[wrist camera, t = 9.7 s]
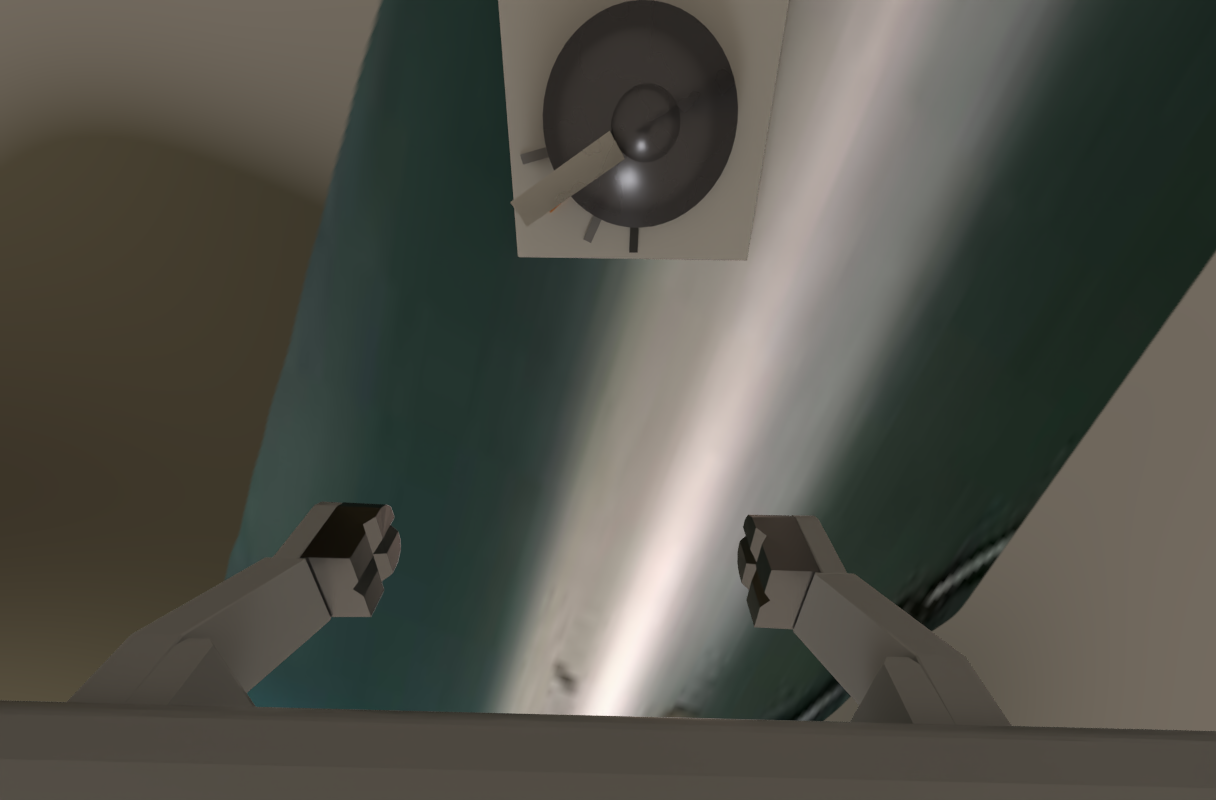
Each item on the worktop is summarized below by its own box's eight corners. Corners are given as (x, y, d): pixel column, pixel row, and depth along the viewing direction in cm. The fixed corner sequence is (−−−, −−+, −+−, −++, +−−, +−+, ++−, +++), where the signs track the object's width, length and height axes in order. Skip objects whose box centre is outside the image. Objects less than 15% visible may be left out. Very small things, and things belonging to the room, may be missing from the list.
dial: (678, -48, 21) (698, -96, 17) (763, 159, 26) (796, 164, 21) (476, 114, 25) (447, 109, 20) (581, 275, 29) (577, 301, 24)
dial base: (785, -36, 23) (797, -47, 22) (740, 255, 30) (747, 261, 28) (500, -43, 23) (493, -55, 21) (521, 251, 30) (517, 257, 28)
